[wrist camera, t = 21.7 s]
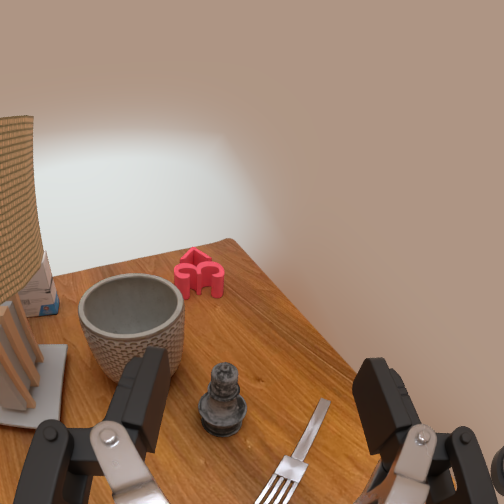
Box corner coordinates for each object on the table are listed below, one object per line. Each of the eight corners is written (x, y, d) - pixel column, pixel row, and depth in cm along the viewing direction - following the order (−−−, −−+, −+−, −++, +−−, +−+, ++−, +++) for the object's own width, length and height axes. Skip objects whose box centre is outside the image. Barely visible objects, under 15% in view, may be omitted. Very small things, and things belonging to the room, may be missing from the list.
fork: (314, 398, 36) (316, 395, 36) (334, 405, 35) (336, 403, 35) (252, 506, 21) (253, 504, 21) (278, 516, 20) (279, 515, 19)
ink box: (60, 300, 48) (47, 249, 43) (57, 315, 44) (42, 261, 39) (26, 304, 44) (11, 254, 39) (21, 319, 40) (4, 266, 35)
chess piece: (189, 419, 31) (183, 360, 26) (220, 396, 36) (224, 334, 30) (223, 447, 28) (227, 394, 23) (253, 420, 32) (266, 362, 27)
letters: (172, 266, 67) (172, 247, 65) (213, 265, 70) (214, 246, 68) (175, 300, 55) (174, 278, 53) (225, 297, 58) (226, 276, 56)
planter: (189, 341, 45) (188, 275, 39) (186, 411, 32) (179, 344, 27) (111, 335, 43) (97, 269, 37) (90, 399, 30) (60, 331, 25)
